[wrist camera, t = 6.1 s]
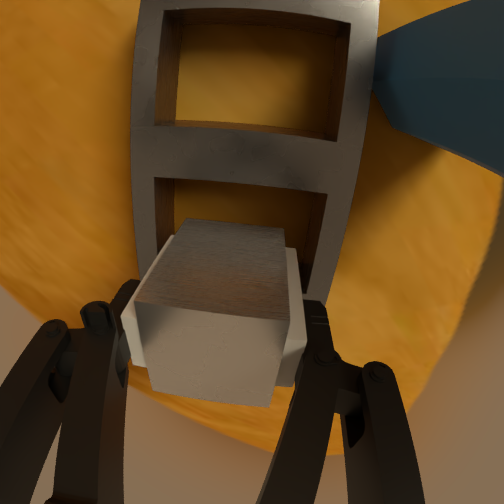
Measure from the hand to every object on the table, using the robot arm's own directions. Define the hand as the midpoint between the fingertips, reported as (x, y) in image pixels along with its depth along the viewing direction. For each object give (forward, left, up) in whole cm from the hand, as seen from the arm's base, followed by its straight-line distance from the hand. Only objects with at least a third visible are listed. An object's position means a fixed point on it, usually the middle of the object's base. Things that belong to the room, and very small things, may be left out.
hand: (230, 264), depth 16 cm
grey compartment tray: (-5, 0, -7) cm, 8 cm away
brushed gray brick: (0, 0, 0) cm, 0 cm away
